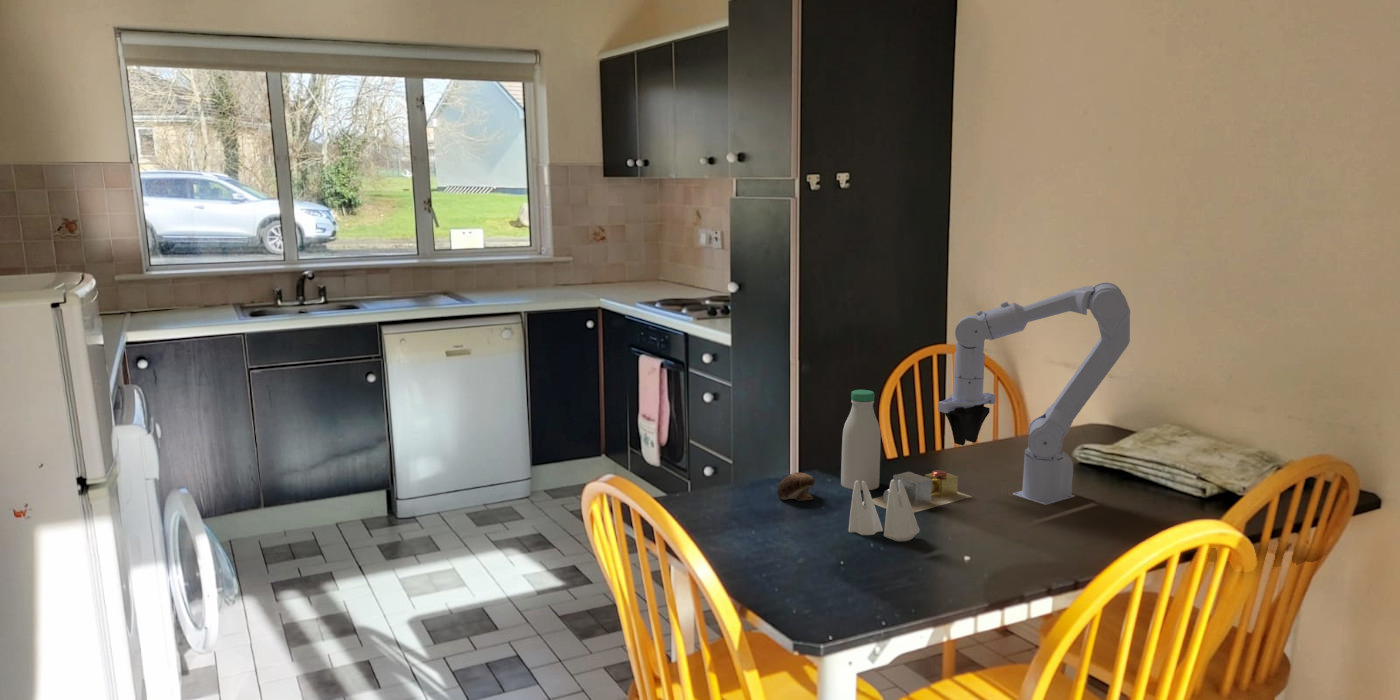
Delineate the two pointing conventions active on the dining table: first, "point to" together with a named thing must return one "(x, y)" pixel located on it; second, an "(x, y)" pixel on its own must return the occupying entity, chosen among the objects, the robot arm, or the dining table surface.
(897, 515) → the salt and pepper shakers
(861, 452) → the milk bottle
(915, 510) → the board
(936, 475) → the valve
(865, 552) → the dining table surface
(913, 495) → the grey rectangular block
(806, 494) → the mushroom
